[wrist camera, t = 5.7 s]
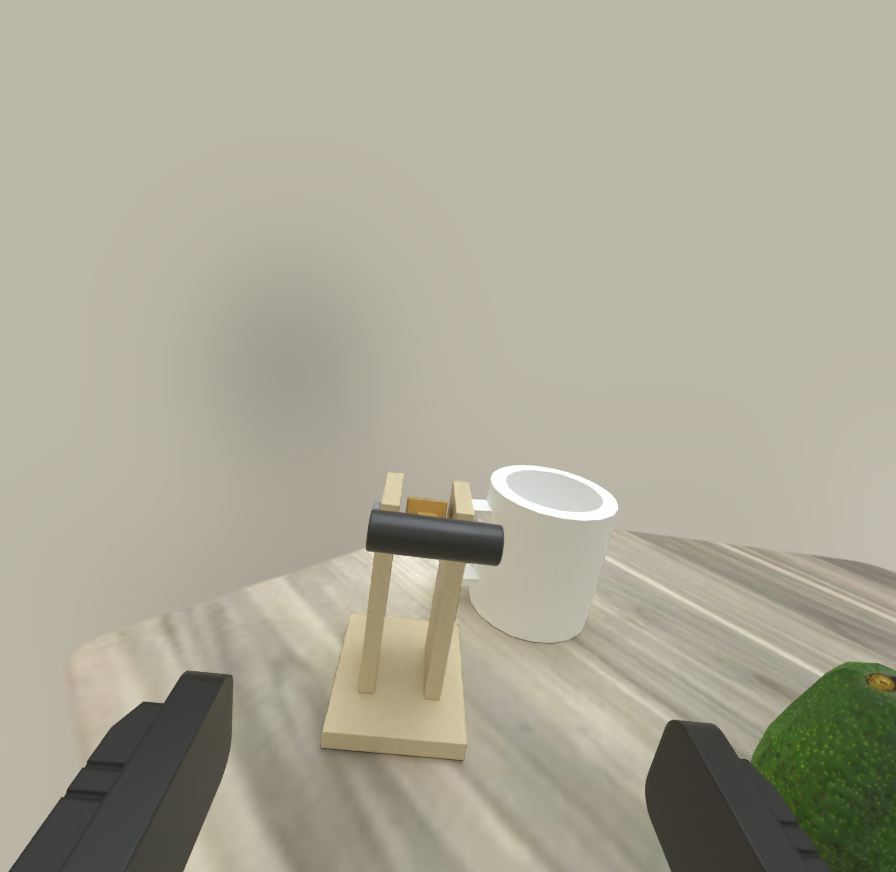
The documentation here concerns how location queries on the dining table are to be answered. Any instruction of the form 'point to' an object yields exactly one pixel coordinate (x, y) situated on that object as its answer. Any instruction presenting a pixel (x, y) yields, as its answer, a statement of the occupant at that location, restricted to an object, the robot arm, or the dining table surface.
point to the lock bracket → (403, 662)
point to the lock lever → (434, 534)
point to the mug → (542, 552)
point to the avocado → (840, 765)
